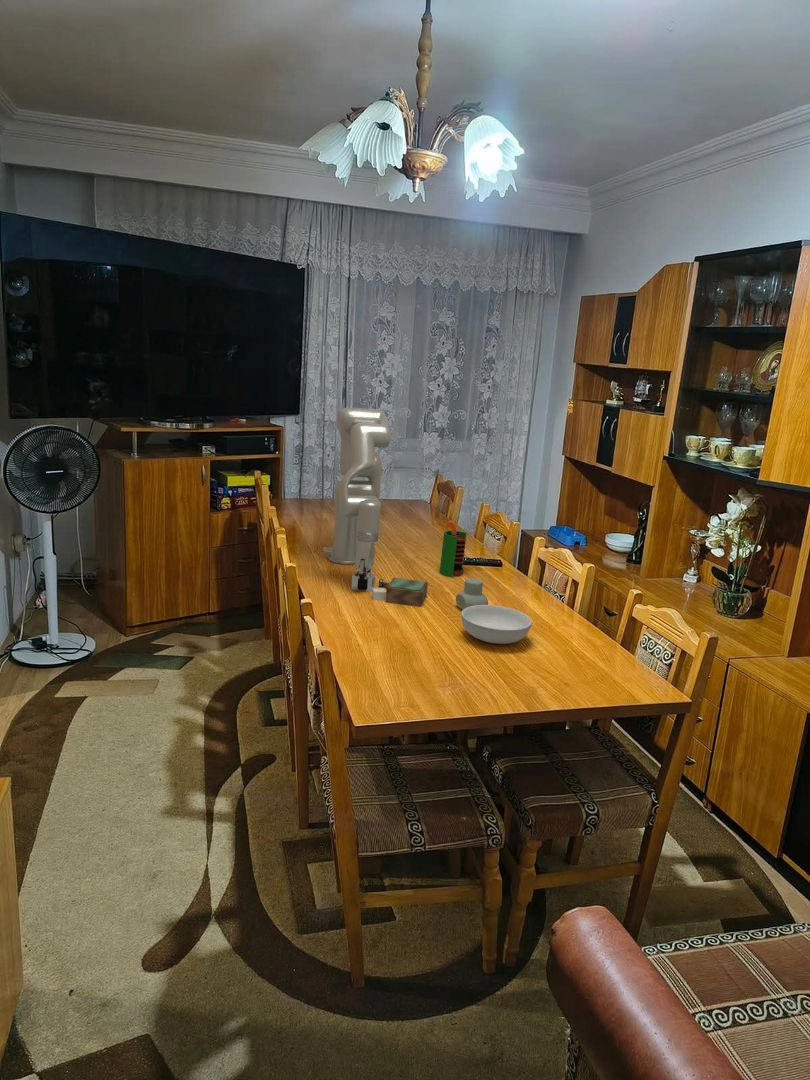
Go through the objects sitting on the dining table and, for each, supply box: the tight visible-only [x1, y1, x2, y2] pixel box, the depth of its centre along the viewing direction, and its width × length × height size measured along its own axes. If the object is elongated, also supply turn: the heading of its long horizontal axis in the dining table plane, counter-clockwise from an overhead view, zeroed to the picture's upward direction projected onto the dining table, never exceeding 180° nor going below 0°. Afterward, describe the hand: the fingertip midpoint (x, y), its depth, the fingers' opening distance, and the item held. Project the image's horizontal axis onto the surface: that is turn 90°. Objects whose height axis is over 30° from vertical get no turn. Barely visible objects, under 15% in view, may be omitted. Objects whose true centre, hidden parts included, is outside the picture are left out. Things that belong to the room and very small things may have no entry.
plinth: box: [385, 577, 429, 608], centre depth 250 cm, size 12×12×5 cm
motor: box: [439, 520, 467, 578], centre depth 282 cm, size 10×9×20 cm
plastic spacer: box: [371, 587, 387, 601], centre depth 249 cm, size 4×4×3 cm
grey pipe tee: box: [455, 577, 489, 611], centre depth 245 cm, size 11×8×10 cm
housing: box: [351, 570, 376, 593], centre depth 257 cm, size 7×5×6 cm
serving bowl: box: [460, 604, 533, 645], centre depth 222 cm, size 21×21×7 cm
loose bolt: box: [378, 578, 390, 588], centre depth 262 cm, size 6×3×3 cm, turn 80°
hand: (363, 586), depth 258 cm, fingers closed on housing, 5 cm apart
